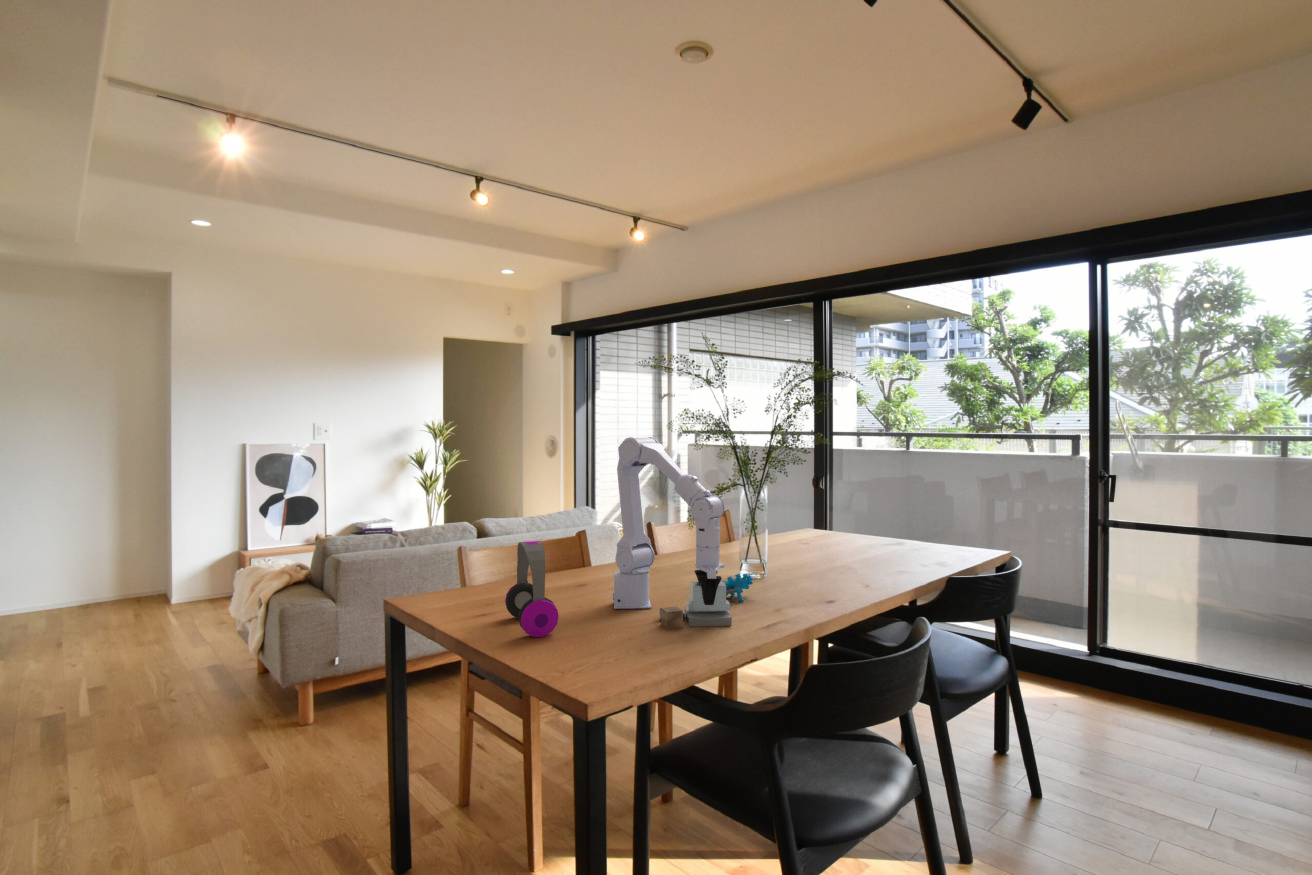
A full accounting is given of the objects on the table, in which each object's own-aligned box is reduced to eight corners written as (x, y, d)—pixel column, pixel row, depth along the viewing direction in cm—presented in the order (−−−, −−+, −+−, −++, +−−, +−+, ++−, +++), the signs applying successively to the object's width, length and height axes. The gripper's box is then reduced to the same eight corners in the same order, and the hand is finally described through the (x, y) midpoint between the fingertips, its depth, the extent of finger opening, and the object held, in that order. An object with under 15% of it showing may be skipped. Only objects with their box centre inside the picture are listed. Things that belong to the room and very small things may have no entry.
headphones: (503, 617, 167) (503, 536, 166) (538, 613, 170) (538, 533, 170) (521, 641, 147) (521, 550, 147) (561, 637, 151) (561, 547, 151)
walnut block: (666, 629, 157) (666, 612, 157) (661, 624, 161) (661, 607, 161) (682, 627, 159) (682, 610, 159) (676, 623, 162) (676, 606, 162)
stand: (689, 626, 159) (689, 618, 159) (684, 614, 169) (684, 606, 169) (731, 625, 160) (731, 617, 160) (724, 614, 170) (724, 606, 170)
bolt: (660, 621, 163) (660, 609, 163) (659, 618, 166) (659, 606, 166) (685, 620, 164) (685, 609, 164) (683, 617, 167) (683, 606, 167)
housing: (688, 611, 162) (688, 586, 162) (686, 606, 166) (686, 581, 166) (730, 610, 163) (730, 585, 163) (727, 605, 167) (727, 581, 167)
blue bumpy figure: (747, 588, 191) (754, 568, 184) (755, 606, 187) (762, 587, 180) (710, 595, 188) (715, 576, 181) (717, 614, 185) (723, 595, 177)
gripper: (729, 551, 157) (729, 609, 157) (719, 540, 172) (719, 594, 172) (699, 551, 157) (698, 610, 157) (691, 541, 171) (691, 594, 171)
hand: (707, 602), depth 164 cm, fingers closed on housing, 4 cm apart
